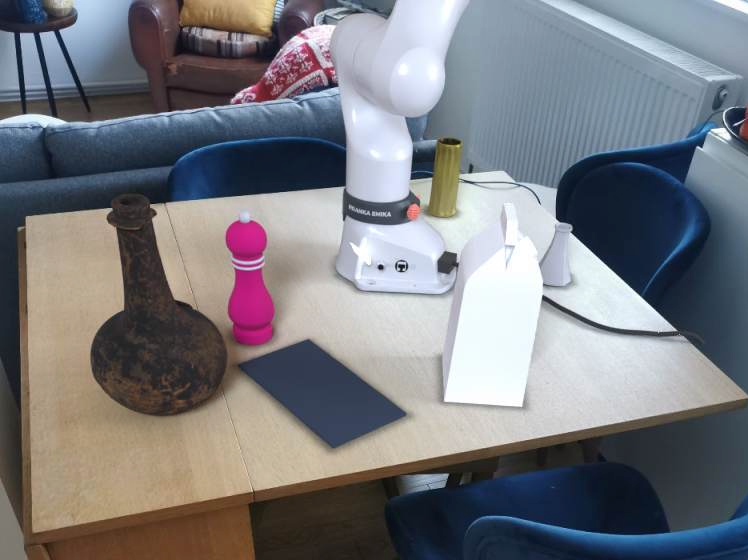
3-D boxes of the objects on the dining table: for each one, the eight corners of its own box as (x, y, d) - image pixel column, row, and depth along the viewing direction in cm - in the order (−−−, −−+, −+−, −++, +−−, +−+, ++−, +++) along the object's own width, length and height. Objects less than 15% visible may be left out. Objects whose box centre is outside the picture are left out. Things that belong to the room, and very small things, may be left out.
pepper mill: (267, 350, 118) (260, 224, 104) (223, 343, 119) (210, 217, 105) (281, 327, 123) (276, 204, 109) (238, 320, 124) (228, 197, 110)
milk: (442, 357, 120) (464, 190, 102) (514, 362, 120) (549, 196, 102) (444, 401, 111) (468, 228, 93) (522, 406, 111) (561, 234, 93)
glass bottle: (248, 373, 113) (233, 182, 94) (200, 445, 100) (172, 241, 81) (136, 353, 115) (100, 162, 96) (76, 420, 102) (20, 216, 83)
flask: (528, 282, 140) (539, 229, 133) (537, 266, 145) (548, 214, 138) (566, 291, 138) (579, 238, 132) (574, 274, 143) (587, 223, 136)
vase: (425, 215, 159) (432, 144, 149) (429, 204, 164) (436, 134, 154) (454, 219, 159) (463, 147, 149) (457, 208, 163) (466, 137, 153)
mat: (238, 366, 114) (237, 364, 114) (308, 341, 121) (308, 338, 120) (333, 448, 101) (333, 446, 101) (406, 415, 108) (406, 412, 108)
